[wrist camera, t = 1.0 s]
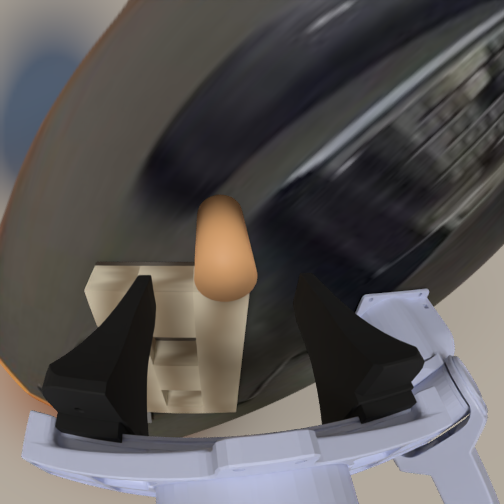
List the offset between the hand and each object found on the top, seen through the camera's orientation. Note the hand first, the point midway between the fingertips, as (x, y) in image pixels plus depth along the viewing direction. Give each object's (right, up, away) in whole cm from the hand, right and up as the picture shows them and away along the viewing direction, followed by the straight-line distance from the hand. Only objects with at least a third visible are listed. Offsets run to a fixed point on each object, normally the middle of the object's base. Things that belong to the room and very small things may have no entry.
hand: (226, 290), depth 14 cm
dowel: (-1, +4, +6) cm, 8 cm away
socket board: (-6, -7, +14) cm, 17 cm away
